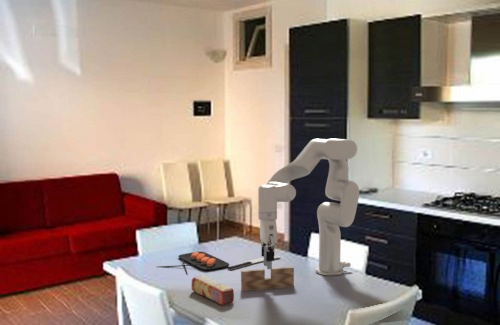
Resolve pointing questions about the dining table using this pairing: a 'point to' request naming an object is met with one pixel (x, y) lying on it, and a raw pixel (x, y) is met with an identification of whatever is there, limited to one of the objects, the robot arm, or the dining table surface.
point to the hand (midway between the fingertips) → (267, 258)
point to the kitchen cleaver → (248, 263)
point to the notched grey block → (267, 263)
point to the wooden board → (267, 279)
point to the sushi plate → (201, 261)
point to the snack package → (212, 290)
